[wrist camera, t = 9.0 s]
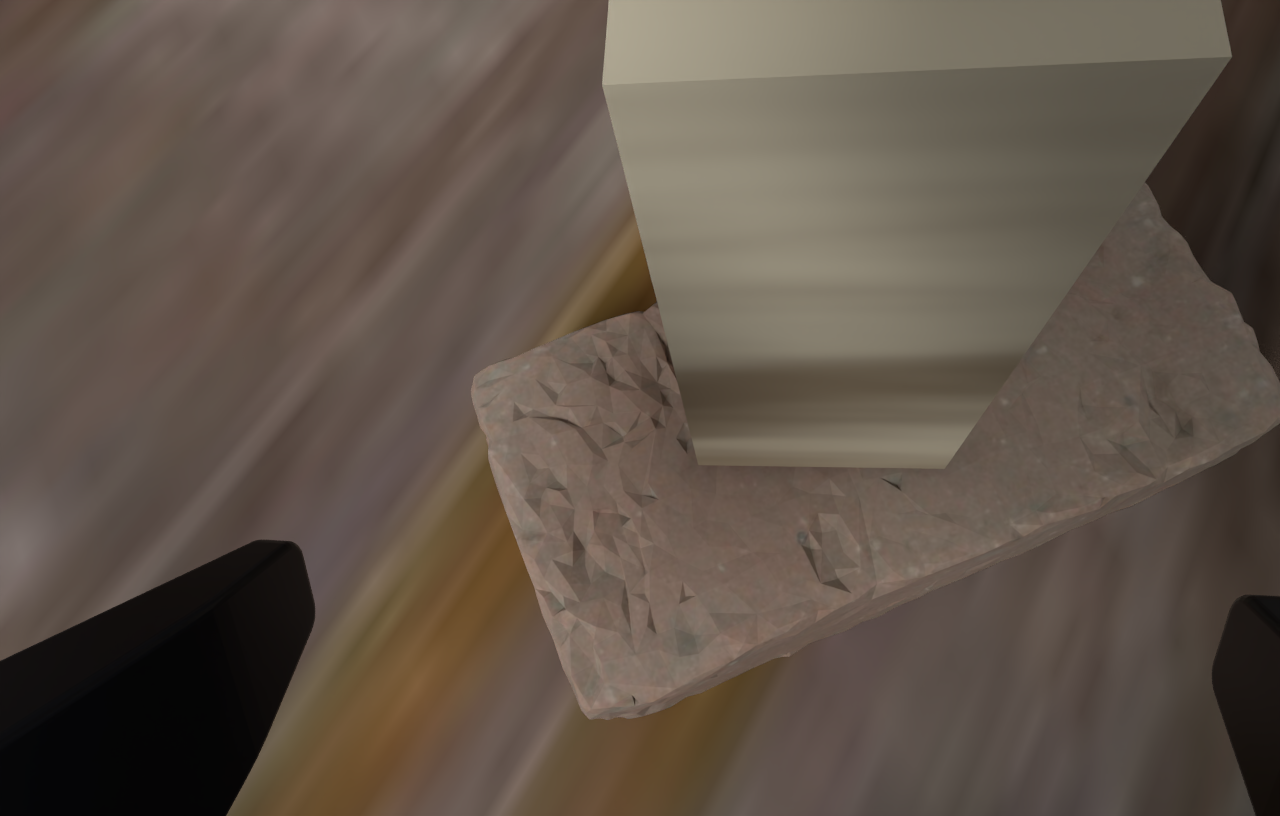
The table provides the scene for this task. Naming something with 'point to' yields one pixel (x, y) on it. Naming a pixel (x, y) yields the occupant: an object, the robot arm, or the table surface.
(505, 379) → the brick
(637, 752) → the table surface
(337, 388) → the table surface
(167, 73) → the table surface
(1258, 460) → the table surface
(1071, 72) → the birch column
